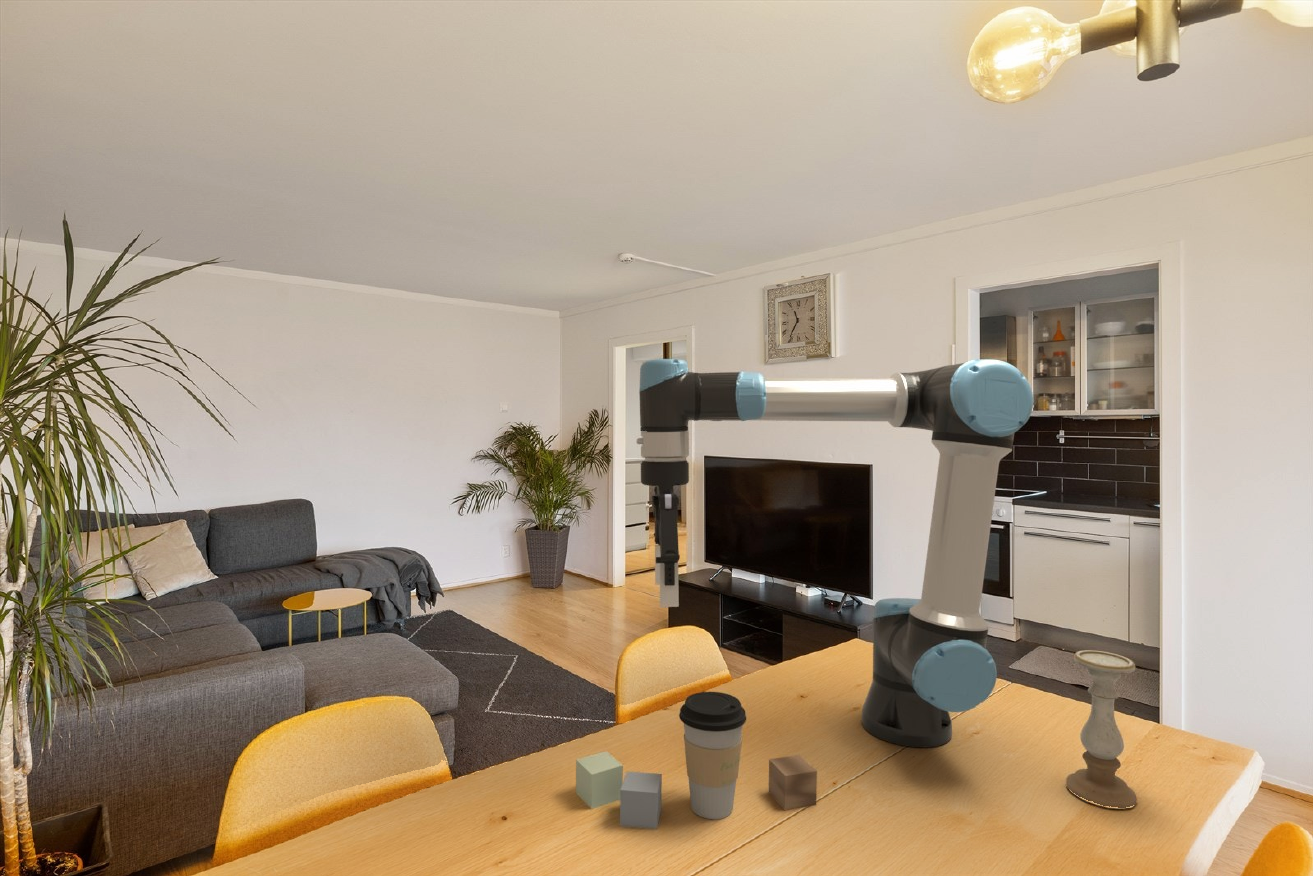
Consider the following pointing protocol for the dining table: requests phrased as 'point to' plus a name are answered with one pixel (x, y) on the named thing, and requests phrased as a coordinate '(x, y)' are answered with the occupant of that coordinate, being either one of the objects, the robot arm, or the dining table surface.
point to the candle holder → (1102, 734)
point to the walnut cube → (792, 782)
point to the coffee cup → (712, 751)
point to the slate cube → (640, 800)
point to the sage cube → (599, 779)
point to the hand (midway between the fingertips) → (666, 594)
